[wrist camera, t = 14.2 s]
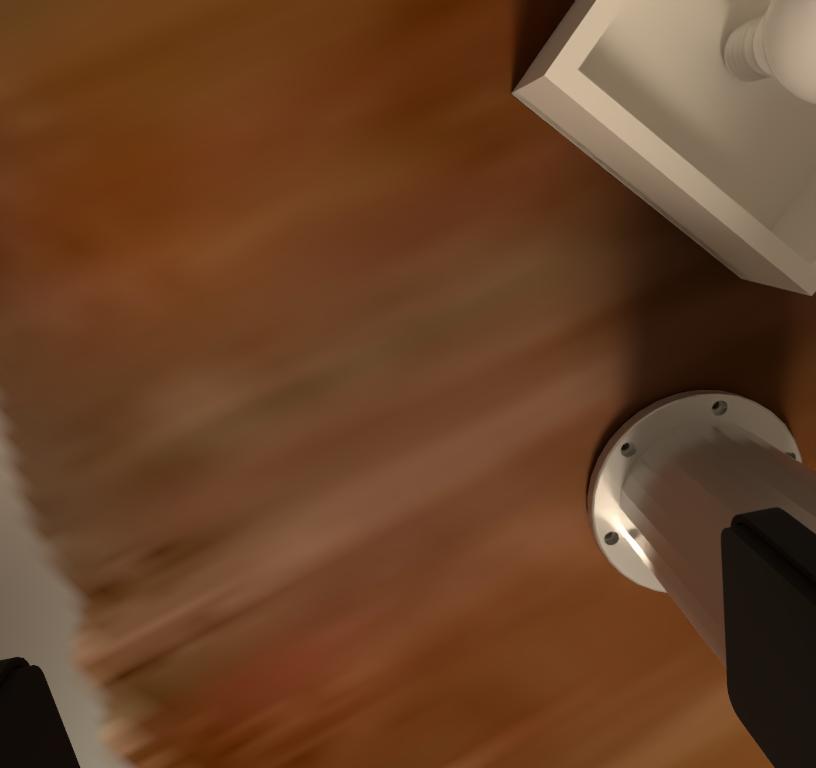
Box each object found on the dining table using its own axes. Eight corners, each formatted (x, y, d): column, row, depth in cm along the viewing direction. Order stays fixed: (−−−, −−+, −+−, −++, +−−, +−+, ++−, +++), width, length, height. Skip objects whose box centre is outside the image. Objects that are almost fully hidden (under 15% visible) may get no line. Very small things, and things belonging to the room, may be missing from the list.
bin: (952, 15, 35) (1071, -18, 29) (741, 278, 38) (811, 296, 32) (725, -218, 31) (810, -308, 25) (511, 93, 34) (543, 75, 28)
